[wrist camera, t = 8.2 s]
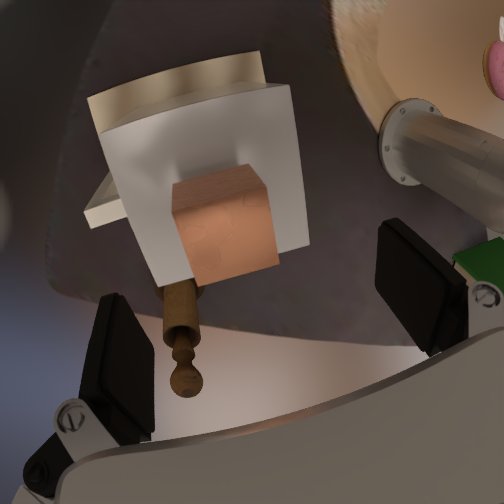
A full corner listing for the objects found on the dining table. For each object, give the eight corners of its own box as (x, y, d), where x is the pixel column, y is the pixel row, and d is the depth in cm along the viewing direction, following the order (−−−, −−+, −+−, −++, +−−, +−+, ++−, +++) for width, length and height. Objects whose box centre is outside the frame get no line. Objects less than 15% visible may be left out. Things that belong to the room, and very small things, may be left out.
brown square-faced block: (233, 96, 27) (310, 125, 11) (249, 174, 32) (323, 284, 16) (148, 119, 26) (103, 179, 11) (171, 196, 31) (170, 328, 15)
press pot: (240, 81, 28) (289, 84, 16) (259, 177, 34) (309, 244, 22) (102, 121, 26) (46, 157, 14) (133, 213, 33) (113, 299, 20)
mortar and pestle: (149, 258, 37) (141, 377, 22) (199, 250, 38) (219, 367, 23) (160, 298, 41) (162, 414, 26) (206, 291, 42) (227, 405, 27)
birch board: (257, 51, 27) (259, 50, 26) (280, 185, 36) (283, 188, 35) (89, 97, 26) (87, 98, 25) (133, 226, 35) (132, 230, 34)
